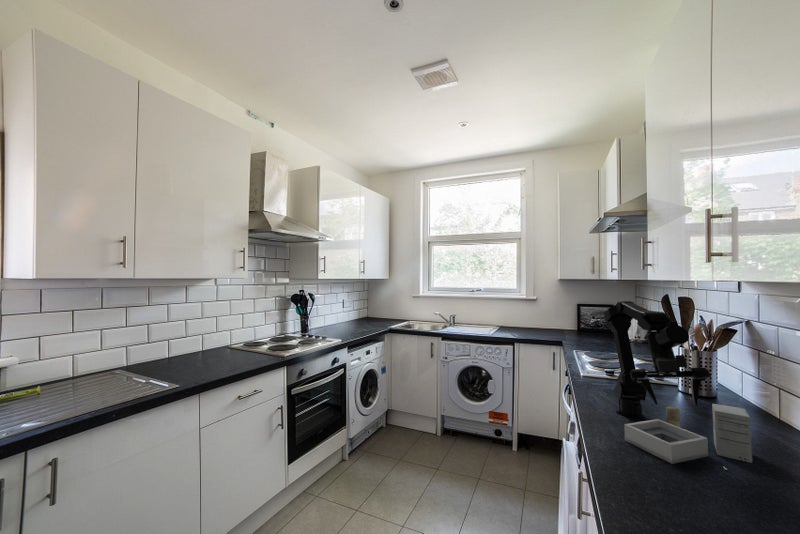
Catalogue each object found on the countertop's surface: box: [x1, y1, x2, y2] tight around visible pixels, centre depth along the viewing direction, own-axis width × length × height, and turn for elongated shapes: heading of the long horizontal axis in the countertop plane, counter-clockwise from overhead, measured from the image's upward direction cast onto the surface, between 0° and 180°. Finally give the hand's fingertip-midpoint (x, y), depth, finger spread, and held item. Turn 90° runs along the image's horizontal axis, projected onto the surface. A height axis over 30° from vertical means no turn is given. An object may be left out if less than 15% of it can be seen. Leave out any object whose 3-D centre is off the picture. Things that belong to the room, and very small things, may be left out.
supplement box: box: [711, 403, 753, 464], centre depth 97 cm, size 7×7×13 cm
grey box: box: [624, 418, 709, 465], centre depth 100 cm, size 14×14×5 cm
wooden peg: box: [665, 406, 681, 428], centre depth 112 cm, size 4×4×7 cm
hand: (675, 405), depth 98 cm, fingers open, 9 cm apart
